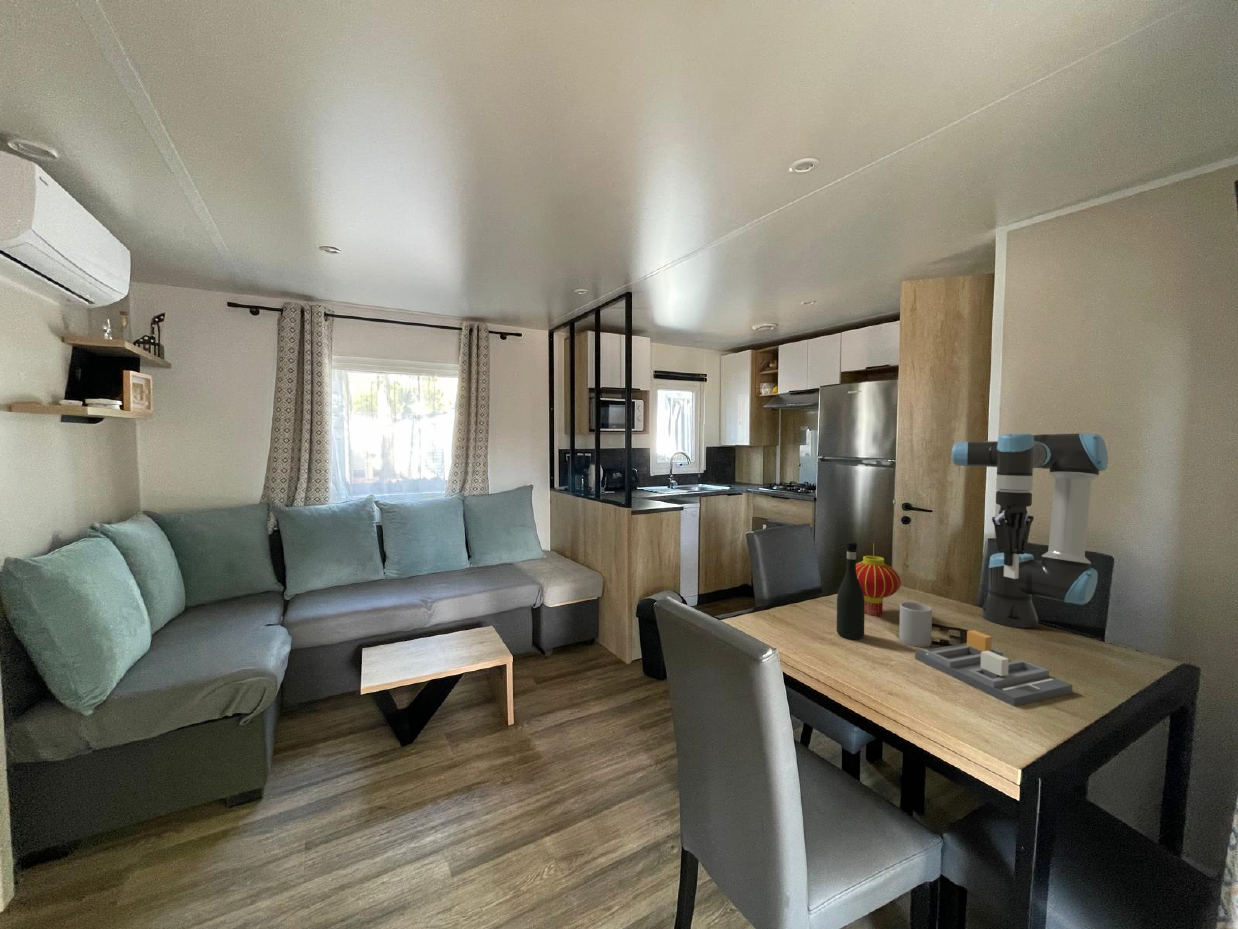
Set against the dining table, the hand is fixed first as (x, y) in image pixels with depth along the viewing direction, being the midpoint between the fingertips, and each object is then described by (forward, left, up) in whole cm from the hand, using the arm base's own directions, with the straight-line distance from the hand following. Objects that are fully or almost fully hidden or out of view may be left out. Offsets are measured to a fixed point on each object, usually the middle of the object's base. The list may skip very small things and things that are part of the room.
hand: (1010, 577), depth 130 cm
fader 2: (+15, +7, -23) cm, 28 cm away
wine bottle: (+25, -30, -25) cm, 47 cm away
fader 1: (+5, -4, -23) cm, 23 cm away
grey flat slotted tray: (+10, +2, -25) cm, 27 cm away
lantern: (+2, -44, -25) cm, 51 cm away
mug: (+8, -21, -25) cm, 34 cm away
